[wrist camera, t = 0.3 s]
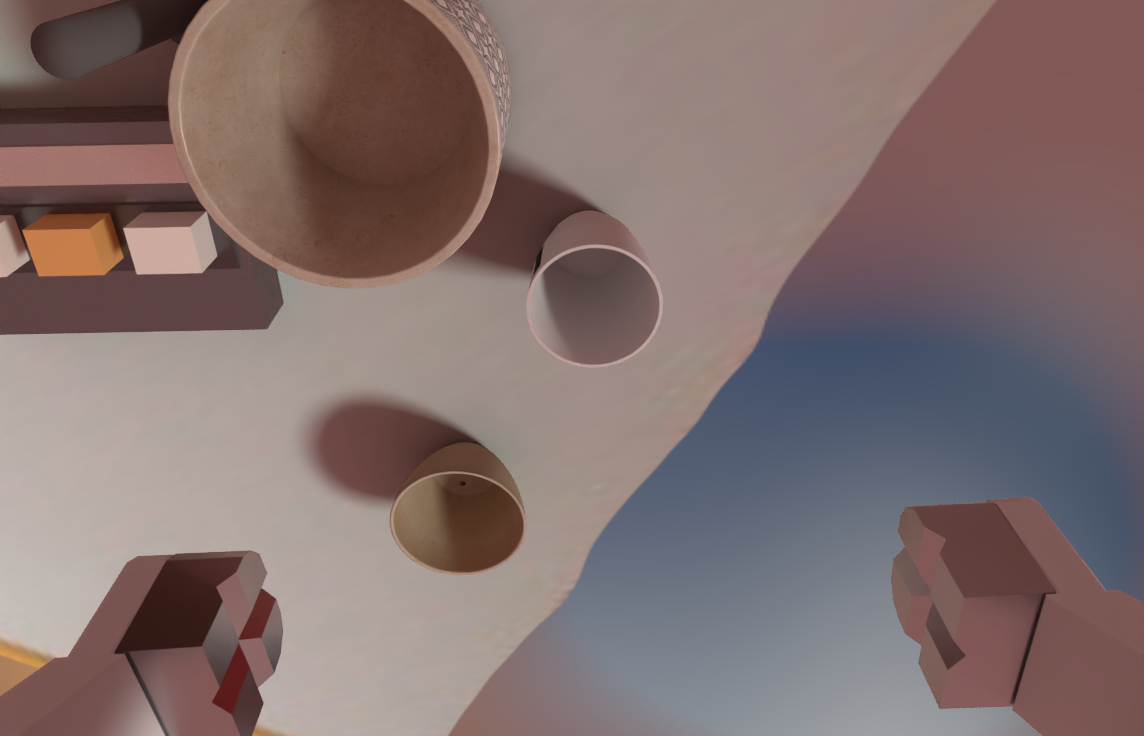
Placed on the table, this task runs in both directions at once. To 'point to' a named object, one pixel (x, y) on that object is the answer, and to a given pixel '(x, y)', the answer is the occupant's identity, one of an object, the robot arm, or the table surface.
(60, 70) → the post
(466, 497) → the flower pot
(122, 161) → the dark grey slotted tray
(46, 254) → the orange block
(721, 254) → the table surface
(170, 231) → the pale pink brick
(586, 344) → the cup
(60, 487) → the table surface
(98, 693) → the robot arm
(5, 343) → the table surface
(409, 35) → the planter
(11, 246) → the light pink block
